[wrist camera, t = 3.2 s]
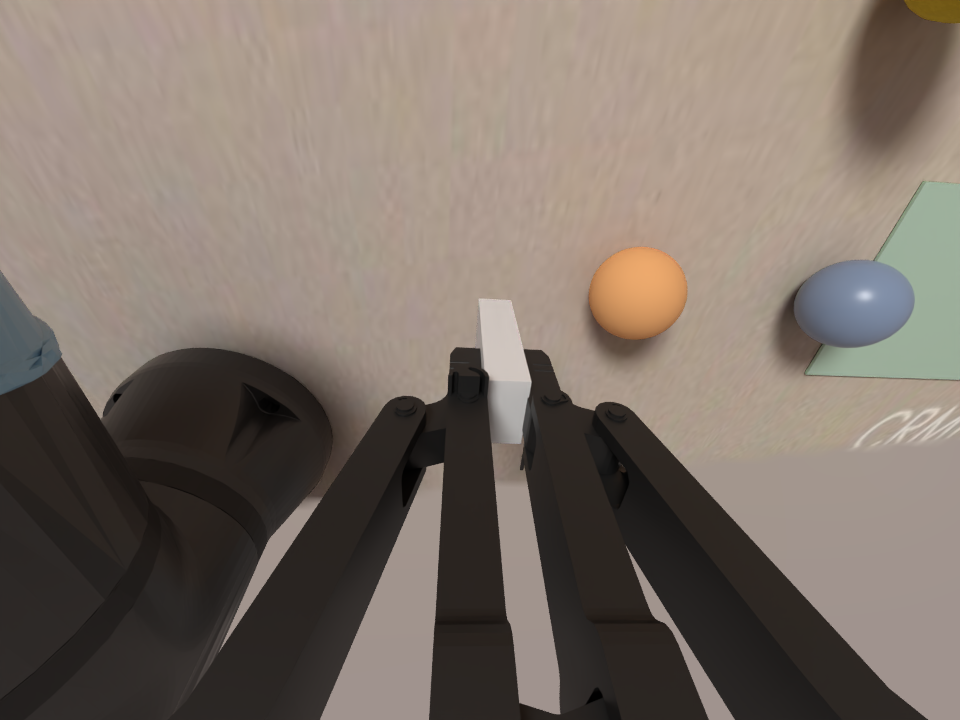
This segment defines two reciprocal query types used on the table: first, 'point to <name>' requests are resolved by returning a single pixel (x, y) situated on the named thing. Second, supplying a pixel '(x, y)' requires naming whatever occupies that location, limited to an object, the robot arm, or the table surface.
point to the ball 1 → (638, 293)
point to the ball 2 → (854, 303)
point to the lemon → (936, 10)
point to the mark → (938, 296)
